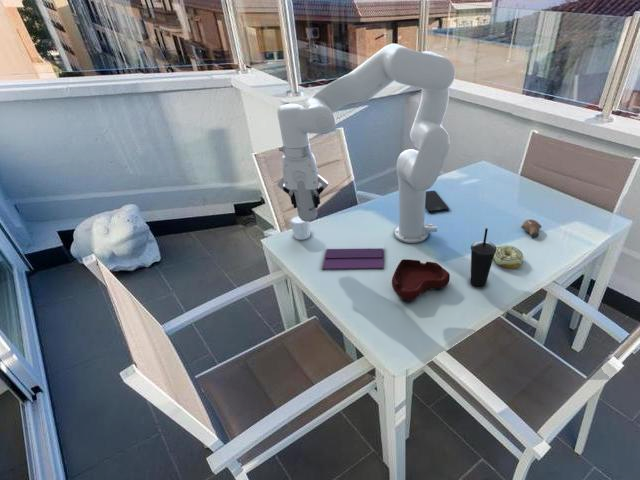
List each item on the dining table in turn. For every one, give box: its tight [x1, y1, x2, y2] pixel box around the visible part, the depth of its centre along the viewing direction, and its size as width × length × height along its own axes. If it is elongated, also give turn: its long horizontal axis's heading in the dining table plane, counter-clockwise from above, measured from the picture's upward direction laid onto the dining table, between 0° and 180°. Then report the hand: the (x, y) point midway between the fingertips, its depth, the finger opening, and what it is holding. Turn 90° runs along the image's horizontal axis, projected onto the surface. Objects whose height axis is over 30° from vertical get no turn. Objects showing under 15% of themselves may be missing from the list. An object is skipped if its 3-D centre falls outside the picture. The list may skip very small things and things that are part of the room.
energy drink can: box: [294, 181, 318, 222], centre depth 122 cm, size 6×6×15 cm
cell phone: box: [425, 190, 450, 214], centre depth 166 cm, size 9×18×1 cm, turn 17°
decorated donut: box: [493, 244, 524, 270], centre depth 132 cm, size 10×11×4 cm
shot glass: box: [289, 214, 311, 241], centre depth 142 cm, size 7×7×7 cm
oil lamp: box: [520, 218, 542, 238], centre depth 147 cm, size 9×4×8 cm
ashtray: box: [391, 258, 451, 303], centre depth 120 cm, size 18×16×5 cm
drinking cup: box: [470, 227, 497, 289], centre depth 117 cm, size 8×8×20 cm
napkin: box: [322, 248, 384, 270], centre depth 132 cm, size 20×11×1 cm, turn 92°
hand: (306, 205), depth 124 cm, fingers closed on energy drink can, 6 cm apart
